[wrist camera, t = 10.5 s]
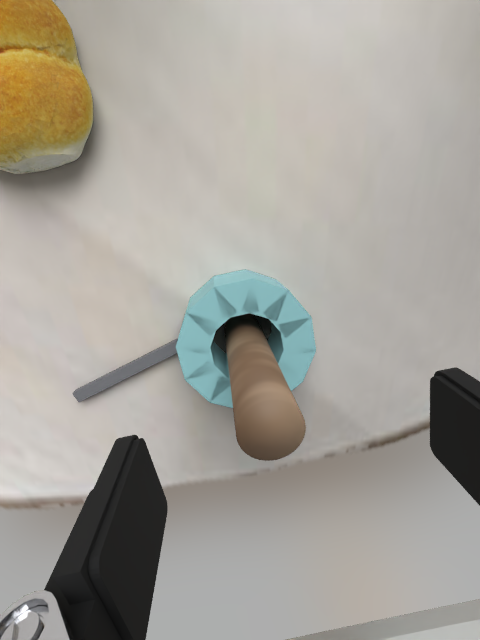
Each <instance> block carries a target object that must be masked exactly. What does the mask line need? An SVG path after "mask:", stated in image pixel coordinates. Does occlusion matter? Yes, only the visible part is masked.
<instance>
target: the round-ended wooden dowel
mask: <svg viewBox="0 0 480 640" xmlns="http://www.w3.org/2000/svg"><path fill="white" fill-rule="evenodd" d="M224 333H225V342H226V350H227V359H228V368H229V377H230V385H231V394H232V403H233V412H234V421H235V429H236V437H237V441H238V444H239V446H240V447H241V449H242V450H243V451H244V452H245V453H246V454H248V455H249V456H251V457H253V458H255V459H259V460H268V461H269V460H277V459H280V458H283V457H285V456H287V455H289V454H291V453H292V452H293V451H294V450H296V449H297V447H298V446H299V445H300V444H301V442H302V440H303V438H304V435H305V429H306V426H305V420H304V418H303V415H302V413H301V411H300V409H299V407H298V405H297V403H296V401H295V399H294V397H293V394H292V392H291V390H290V388H289V386H288V384H287V382H286V380H285V378H284V375H283V373H282V371H281V369H280V367H279V365H278V363H277V361H276V359H275V357H274V354H273V352H272V350H271V348H270V346H269V344H268V342H267V340H266V338H265V336H264V333H263V331H262V329H261V327H260V325H259V323H258V321H257V319H256V318H255V317H254V316H253V315H252V314H250V313H249V314H244V315H239V316H235V317H231V318H229V319H228V320H227V321H226V323H225V326H224Z"/></svg>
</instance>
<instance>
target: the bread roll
mask: <svg viewBox="0 0 480 640" xmlns="http://www.w3.org/2000/svg"><path fill="white" fill-rule="evenodd" d="M92 124H93V100H92V94H91V90H90V88H89V85H88V83H87V80H86V78H85V76H84V74H83V73H82V70H81V67H80V64H79V61H78V57H77V50H76V45H75V41H74V37H73V34H72V30H71V28H70V26H69V24H68V22H67V20H66V18H65V16H64V15H63V14H62V12H61V11H60V10H59V8H58V7H57V6H56V5H55V3H54V2H53V1H52V0H0V170H3V171H6V172H10V173H13V174H20V173H21V174H24V173H31V172H38V171H45V170H49V169H52V168H54V167H59V166H61V165H64V164H66V163H70V162H73V161H75V160H76V159H78V158H79V157H80V156H81V153H82V151H83V148H84V145H85V143H86V140H87V138H88V136H89V134H90V131H91V128H92Z"/></svg>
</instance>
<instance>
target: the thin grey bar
mask: <svg viewBox="0 0 480 640" xmlns="http://www.w3.org/2000/svg"><path fill="white" fill-rule="evenodd" d="M177 341H178V339H175V340H173V341H171V342H169V343H167V344H165V345H164V346H162V347H160V348H158V349H156V350H154V351H152V352H150V353H148V354H146V355H144V356H142V357H140V358H138V359H136V360H134V361H132V362H130V363H128V364H126V365H124V366H122V367H120V368H118V369H116V370H114V371H112V372H110V373H108V374H106V375H104V376H102V377H100V378H98V379H96V380H94V381H92V382H90V383H88V384H86V385H84V386H82V387H80V388H78V389H76V390H75V391H74V393H73V395H74V397H75V398H76V399H77V401H78V402H81V401H83V400H85V399H87V398H89V397H91V396H93V395H95V394H97V393H99V392H100V391H102V390H104V389H106V388H108V387H110V386H112V385H114V384H116V383H118V382H120V381H122V380H124V379H126V378H128V377H130V376H132V375H134V374H136V373H138V372H140V371H142V370H144V369H146V368H148V367H150V366H152V365H154V364H156V363H158V362H160V361H162V360H164V359H166V358H168V357H170V356H172V355H174V354H176V353H177V350H176V344H177Z"/></svg>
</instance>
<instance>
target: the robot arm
mask: <svg viewBox="0 0 480 640" xmlns="http://www.w3.org/2000/svg"><path fill="white" fill-rule="evenodd" d="M430 447H431V450H432V452H433V454H434V455H435V456H436V458H437V459H438V460H439V461H440V462H441V463H442V464H443V465H444V466H445V468H446V469H447V470H448V471H449V472H450V473H451V474H452V475H453V476H454V478H455V479H456V480H457V481H458V482H459V483H460V484H461V485H462V486H463V488H464V489H465V490H466V491H467V492H468V493H469V494H470V495H471V496H472V497H473V499H474V500H476V502H477V503H478V504H479V505H480V382H479V381H478V380H476V379H475V378H473V377H471V376H470V375H468V374H467V373H465V372H464V371H462V370H460V369H458V368H450V369H445V370H441V371H437V372H436V373H435V374H434V377H432V378H431V380H430ZM166 517H167V501H166V497H165V495H164V492H163V489H162V486H161V484H160V481H159V478H158V476H157V473H156V470H155V468H154V465H153V462H152V459H151V457H150V454H149V451H148V449H147V446H146V443H145V441H144V439H143V438H140V439H139V438H138V436H137V435H132V436H127V437H122V438H118V439H117V440H116V441H115V443H114V445H113V448H112V450H111V452H110V454H109V456H108V459H107V461H106V463H105V465H104V467H103V470H102V472H101V474H100V476H99V478H98V480H97V483H96V485H95V487H94V489H93V490H92V491H91V492H90V493H89V495H88V497H87V499H86V501H85V503H84V506H83V508H82V510H81V512H80V514H79V517H78V518H77V521H76V523H75V525H74V527H73V529H72V531H71V533H70V536H69V538H68V540H67V542H66V544H65V546H64V549H63V551H62V553H61V555H60V557H59V559H58V561H57V564H56V566H55V568H54V570H53V572H52V574H51V577H50V579H49V581H48V583H47V585H46V587H45V589H44V590H42V591H34V592H32V593H30V594H27V595H25V596H23V597H22V598H20V599H19V600H17V601H16V602H14V603H13V604H12V605H11V606H10V607H8V608H7V609H6V610H5V611H4V612H3V613H2V614H1V615H0V640H145V639H146V633H147V627H148V621H149V615H150V610H151V604H152V598H153V592H154V587H155V581H156V575H157V569H158V563H159V557H160V551H161V546H162V540H163V534H164V528H165V523H166ZM287 640H480V599H478V600H473V601H468V602H463V603H458V604H453V605H449V606H443V607H439V608H434V609H429V610H424V611H419V612H415V613H410V614H405V615H400V616H395V617H391V618H386V619H381V620H377V621H372V622H367V623H363V624H357V625H353V626H348V627H343V628H339V629H334V630H329V631H324V632H320V633H315V634H310V635H305V636H301V637H296V638H292V639H287Z"/></svg>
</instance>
